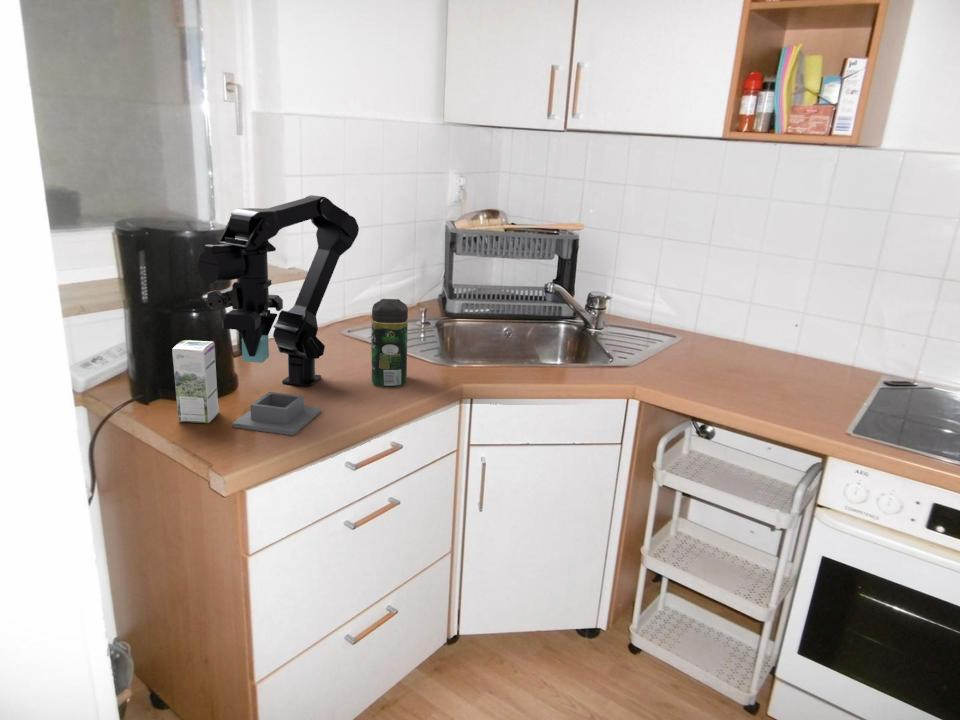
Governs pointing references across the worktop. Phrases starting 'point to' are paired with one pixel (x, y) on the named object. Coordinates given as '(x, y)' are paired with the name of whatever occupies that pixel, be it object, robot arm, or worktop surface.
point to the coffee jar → (389, 343)
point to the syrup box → (195, 381)
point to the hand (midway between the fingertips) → (255, 352)
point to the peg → (261, 351)
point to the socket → (277, 414)
